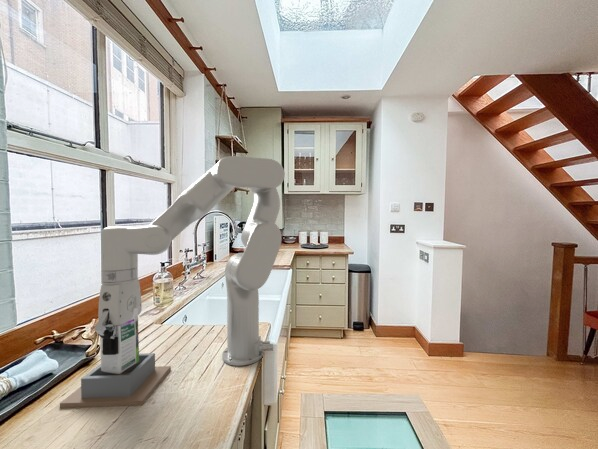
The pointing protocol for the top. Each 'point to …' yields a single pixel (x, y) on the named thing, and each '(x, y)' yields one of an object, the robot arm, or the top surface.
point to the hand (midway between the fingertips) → (120, 346)
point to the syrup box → (123, 347)
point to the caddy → (118, 385)
